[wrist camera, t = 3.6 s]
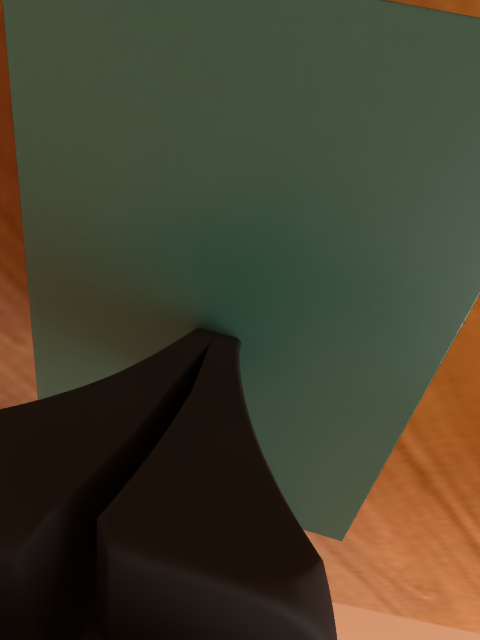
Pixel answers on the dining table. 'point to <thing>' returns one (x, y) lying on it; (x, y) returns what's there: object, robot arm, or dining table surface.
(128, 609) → the robot arm
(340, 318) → the bread lid
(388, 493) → the dining table surface
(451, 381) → the dining table surface
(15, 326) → the dining table surface
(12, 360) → the dining table surface
